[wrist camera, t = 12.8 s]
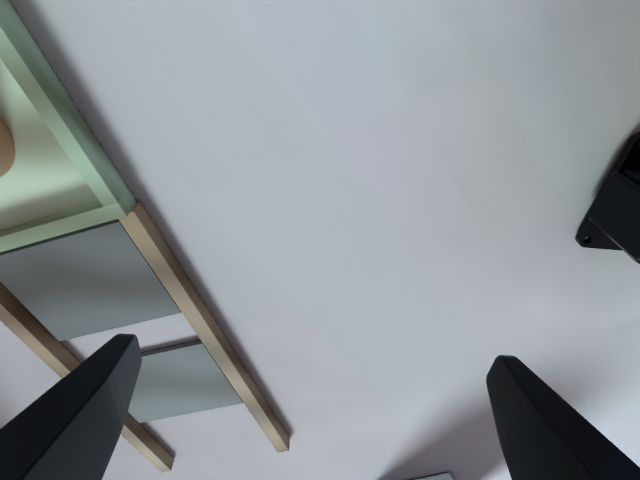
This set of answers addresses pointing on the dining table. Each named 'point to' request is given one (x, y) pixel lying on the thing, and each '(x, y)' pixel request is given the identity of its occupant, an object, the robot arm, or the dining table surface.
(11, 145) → the peach capsule
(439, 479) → the skincare box
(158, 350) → the frame
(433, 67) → the dining table surface
